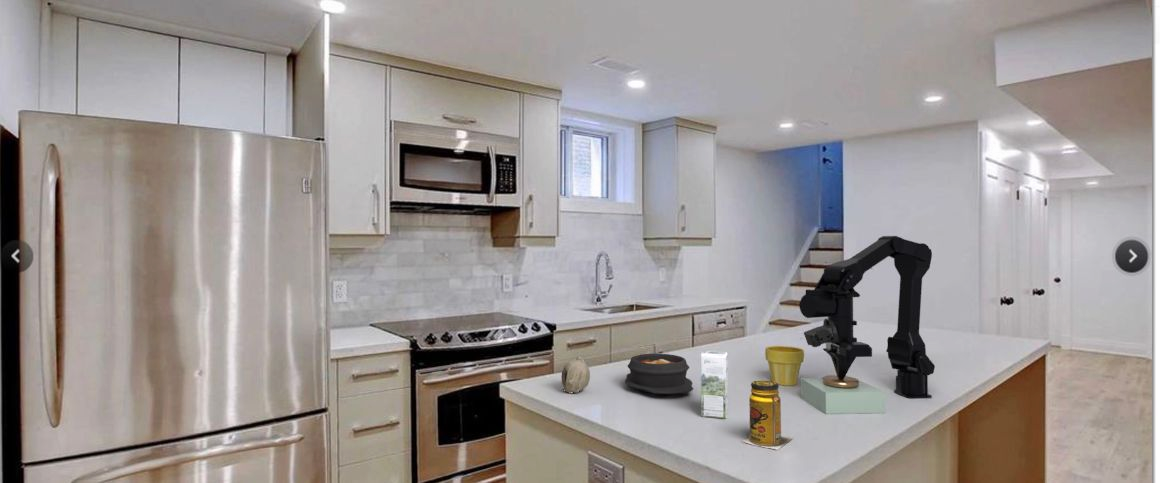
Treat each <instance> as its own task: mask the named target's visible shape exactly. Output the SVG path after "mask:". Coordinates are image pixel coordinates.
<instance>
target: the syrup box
mask: <svg viewBox="0 0 1160 483" xmlns="http://www.w3.org/2000/svg"><path fill="white" fill-rule="evenodd" d="M728 357H729V356H728V352H726V351H725V352H724V351H710V350H709V351H708V350H703V351H702V352H701V354H700V396H701V397H700V400H701V401H700V405H701V406H700V409H701V410H700V411H701V413H700V414H701V417H702V418H703V417H704V418H711V419H712V418H713V419H723V420H724V419H727V417H728V416H727V415H728V412H729V403H728V400H729V398H728V397H729V396H728V394H729V393H728V392H729V391H728V390H729V389H728V382H729V380H728V378H729V377H728V376H729V375H728V374H729V373H728V369H729V368H728V366H729V364H728Z"/></svg>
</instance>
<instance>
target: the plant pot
mask: <svg viewBox="0 0 1160 483" xmlns="http://www.w3.org/2000/svg"><path fill="white" fill-rule="evenodd" d="M804 350H805V349H803V348H800V347H795V346H788V345H787V346H786V345H770V346H766V347H765V360H766V361H767V364H768V368H769V373H770V378H771V381H772V382H775V383H777V384H778V386H779V385H780V386H795V385H797V384H798V378H799V375H800V369H801V365H802V363H804V359H805V351H804Z"/></svg>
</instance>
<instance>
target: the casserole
mask: <svg viewBox="0 0 1160 483" xmlns="http://www.w3.org/2000/svg"><path fill="white" fill-rule="evenodd" d="M627 368H628V369H629V371H630V373H628V374H626V378H625V380H624V383H625V385H627V386H629V387H631V388H634V389H637V390H639V391H641V392H644V391H645V393H649V392H650V394H655V395H656V394H657V395H676V394H685V393H689V392H692V391H693V390H694V387H693V386H692V385H693V382H692V380H691V379H690V378H688V377H686V376H687V372H688V370H689V369H690V366H689V364H688V363H687V360H686V358H685V357H683V356H680V355H676V354H668V353H643V354H637V355H634V356H632V357H631V358H630V362H629V363H628V364H627Z"/></svg>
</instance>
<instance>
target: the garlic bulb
mask: <svg viewBox="0 0 1160 483" xmlns="http://www.w3.org/2000/svg"><path fill="white" fill-rule="evenodd" d="M590 378H591V374H590V368H589V366H588V365H587V362H586V361H585V360H584V358H583V357H581V356H577V357H576V358H575V359H574V360H572V361H568V362H567V363H566V364H565V365H564V366H563V369H562V371H561V384H562V386H563V389H564V390H565V391H566V392H565V393H567V392H574V393H573V394H577V393H580V392H579V391H581V392H583V391H584V389H585V388H587V387H588V386H589V384H590ZM564 390H563V391H564ZM582 390H583V391H582Z"/></svg>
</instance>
